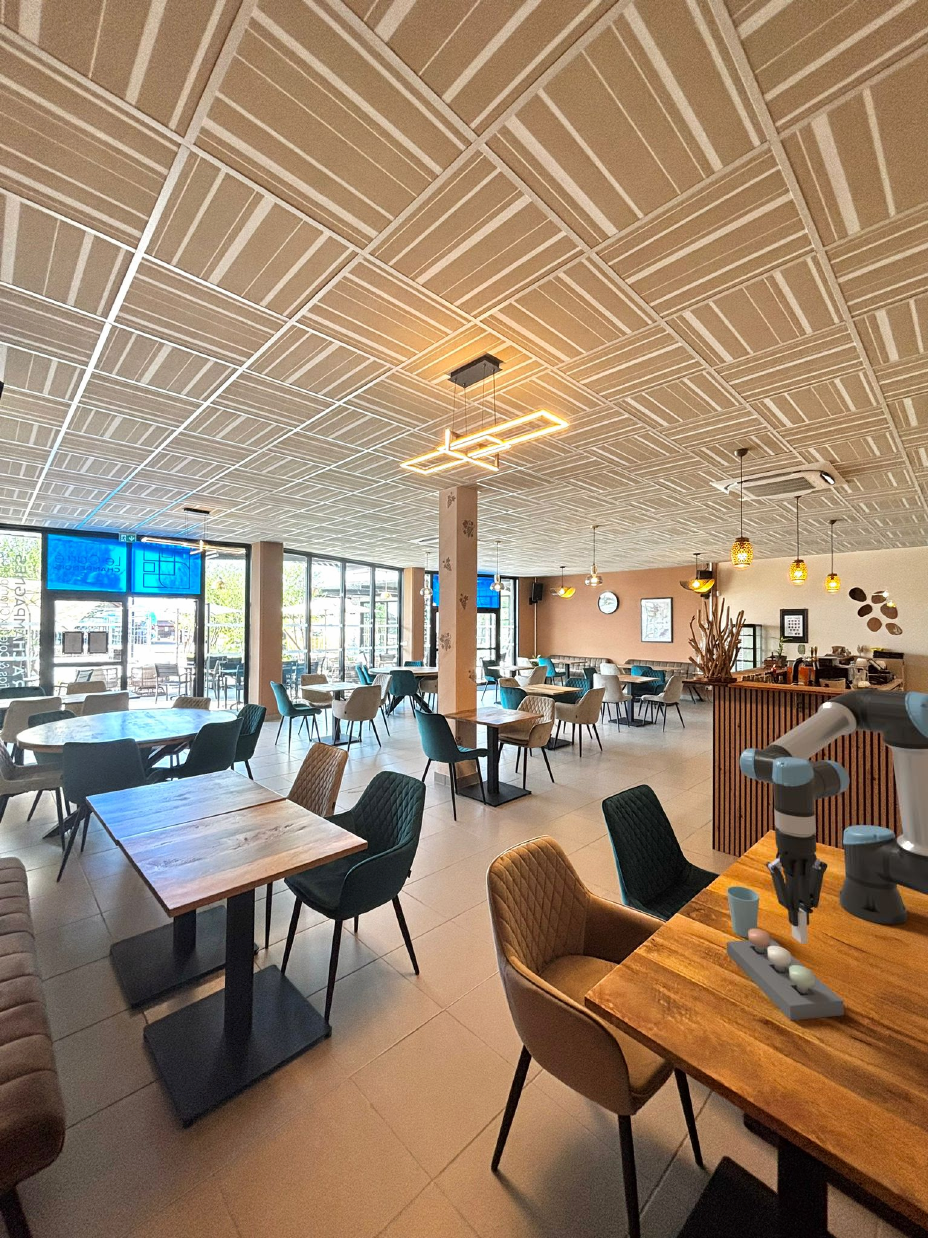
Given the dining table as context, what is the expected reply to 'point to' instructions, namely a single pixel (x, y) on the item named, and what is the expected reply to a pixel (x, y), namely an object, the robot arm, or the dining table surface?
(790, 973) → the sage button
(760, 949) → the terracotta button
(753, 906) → the cup
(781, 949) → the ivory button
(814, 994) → the gray rectangular slab
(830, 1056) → the dining table surface
